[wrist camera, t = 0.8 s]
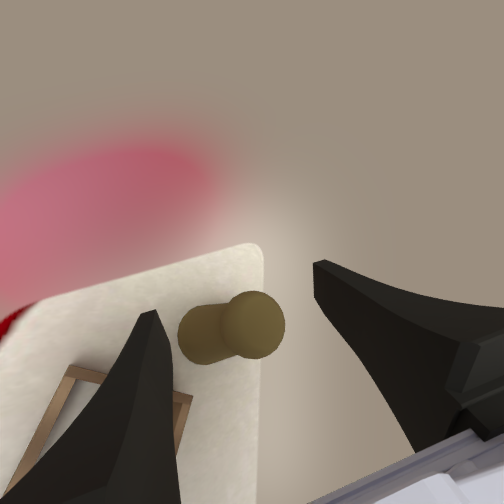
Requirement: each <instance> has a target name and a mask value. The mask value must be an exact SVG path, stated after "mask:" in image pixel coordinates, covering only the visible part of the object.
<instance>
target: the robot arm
mask: <svg viewBox="0 0 504 504" xmlns="http://www.w3.org/2000/svg"><path fill="white" fill-rule="evenodd" d="M313 281H314V298H315V300H316V301H317V303H318V305H319V306H320V308H321V310H322V311H323V313H324V314H325V316H326V317H327V318H328V320H329V321H330V322H331V323H332V325H333V326H334V327H335V328H336V330H337V331H338V332H339V333H340V335H341V336H342V337H343V338H344V339H345V341H346V342H347V343H348V345H349V346H350V347H351V348H352V350H353V351H354V352H355V353H356V355H357V356H358V358H359V359H360V360H361V362H362V363H363V365H364V366H365V368H366V370H367V371H368V372H369V374H370V375H371V377H372V379H373V380H374V382H375V384H376V385H377V387H378V388H379V390H380V392H381V393H382V395H383V397H384V398H385V400H386V402H387V403H388V405H389V407H390V408H391V410H392V412H393V413H394V415H395V417H396V419H397V421H398V422H399V424H400V426H401V428H402V429H403V431H404V433H405V435H406V437H407V439H408V440H409V442H410V444H411V446H412V448H413V450H414V451H415V454H413V455H411V456H409V457H407V458H405V459H402V460H400V461H398V462H396V463H394V464H392V465H389V466H387V467H385V468H383V469H381V470H379V471H376V472H374V473H372V474H370V475H368V476H366V477H364V478H361V479H359V480H357V481H355V482H353V483H351V484H349V485H346V486H344V487H342V488H340V489H338V490H336V491H334V492H331V493H329V494H327V495H325V496H323V497H320V498H318V499H316V500H314V501H312V502H310V503H307V504H504V308H499V307H489V306H479V305H472V304H466V303H459V302H453V301H447V300H442V299H438V298H433V297H428V296H423V295H420V294H416V293H412V292H408V291H405V290H402V289H398V288H395V287H392V286H389V285H386V284H384V283H381V282H378V281H375V280H373V279H370V278H368V277H365V276H363V275H360V274H358V273H356V272H353V271H351V270H349V269H347V268H344V267H342V266H340V265H337V264H335V263H332V262H330V261H327V260H321V261H318V262H314V263H313ZM0 504H181V499H180V490H179V482H178V473H177V464H176V454H175V444H174V433H173V363H172V354H171V346H170V342H169V339H168V337H167V335H166V332H165V330H164V327H163V325H162V323H161V320H160V318H159V316H158V313H157V311H156V309H155V310H152V311H148V312H145V313H141V314H140V316H139V318H138V320H137V322H136V324H135V326H134V328H133V330H132V332H131V334H130V336H129V338H128V340H127V342H126V344H125V346H124V348H123V349H122V351H121V353H120V355H119V357H118V358H117V360H116V362H115V364H114V365H113V367H112V368H111V370H110V372H109V373H108V375H107V377H106V378H105V380H104V381H103V383H102V384H101V386H100V387H99V389H98V390H97V392H96V393H95V395H94V396H93V397H92V399H91V400H90V402H89V403H88V404H87V405H86V407H85V408H84V409H83V410H82V412H81V413H80V414H79V415H78V417H77V418H76V419H75V420H74V422H73V423H72V424H71V425H70V426H69V428H68V429H67V430H66V431H65V433H64V434H63V435H62V436H61V437H60V438H59V439H58V440H57V442H56V443H55V444H54V445H53V446H52V447H51V448H50V449H49V450H48V452H47V453H46V454H45V455H44V456H43V457H42V458H41V459H40V460H39V461H38V462H37V463H36V464H35V465H34V466H33V467H32V468H31V470H30V471H29V472H28V473H27V474H26V475H25V476H24V477H23V478H21V479H20V480H19V481H18V482H17V483H16V484H15V485H14V486H13V487H12V488H11V489H10V490H9V491H8V492H7V493H6V494H5V495H4V496H3V497H2V498H1V499H0Z"/></svg>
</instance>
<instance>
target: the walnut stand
mask: <svg viewBox="0 0 504 504" xmlns="http://www.w3.org/2000/svg"><path fill="white" fill-rule="evenodd" d="M107 375H108V374H104V373H100V372H96V371H92V370H88V369H84V368H80V367H75V366H71V365H69V367H68V369H67V370H66V372H65V374H64V376H63V378H62V380H61V382H60V384H59V386H58V388H57V390H56V392H55V394H54V396H53V398H52V400H51V402H50V404H49V406H48V408H47V410H46V412H45V414H44V416H43V418H42V420H41V422H40V424H39V426H38V428H37V430H36V432H35V434H34V436H33V438H32V440H31V441H30V443H29V445H28V447H27V449H26V451H25V453H24V455H23V457H22V459H21V461H20V463H19V465H18V467H17V469H16V471H15V473H14V475H13V477H12V479H11V481H10V483H9V485H8V487H7V489H6V491H5V493H4V495H5V494H6V493H7V492H8V491H9V490H10V489H11V488H12V487H13V486H14V485H15V484H16V483H17V482H18V481H19V480H20V479H21V478H23V477H24V476H25V475H26V474H27V473H28V472H29V471H30V470H31V468H32V467H33V466H34V464H35V462H36V460H37V458H38V456H39V454H40V452H41V450H42V448H43V446H44V444H45V442H46V440H47V437H48V435H49V433H50V431H51V429H52V427H53V425H54V423H55V421H56V419H57V417H58V415H59V413H60V411H61V409H62V407H63V404H64V402H65V400H66V398H67V396H68V394H69V392H70V390H71V388H72V386H73V384H74V382H75V380H76V379H80V380H84V381H88V382H93V383H97V384H102V383H103V381H104V380H105V378H106V377H107ZM192 399H193V396H192V395H188V394H184V393H180V392H176V391H173V433H174V444H175V454H176V455H177V451H178V448H179V444H180V441H181V437H182V434H183V430H184V427H185V423H186V420H187V416H188V413H189V409H190V406H191V402H192ZM4 495H3V496H4Z"/></svg>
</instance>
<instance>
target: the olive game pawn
mask: <svg viewBox="0 0 504 504" xmlns="http://www.w3.org/2000/svg"><path fill="white" fill-rule="evenodd" d="M284 332H285V319H284V315H283V312H282V310H281V308H280V306H279V305H278V303H277V302H276V301H275V300H274V299H273V298H272V297H270V296H268V295H267V294H265V293H263V292H259V291H247V292H243V293H241V294H239V295H237V296H235V297H233V298H232V299H231V301H230V302H229V303H224V304H213V305H203V306H197V307H195V308H193V309H191V310H189V311H188V313H187V314H186V315H185V316H184V317H183V318H182V320H181V323H180V325H179V329H178V343H179V346H180V349H181V351H182V353H183V354H184V355H185V356H186V357H187V358H188V359H189V360H190V361H192V362H194V363H196V364H200V365H208V364H212V363H215V362H218V361H221V360H224V359H227V358H230V357H232V356H235V355H239V356H241V357H243V358H248V359H260V358H263V357H266V356H268V355H270V354H271V353H272V352H273V351H275V350H276V349H277V348H278V346H279V344H280V343H281V341H282V339H283V336H284Z"/></svg>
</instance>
